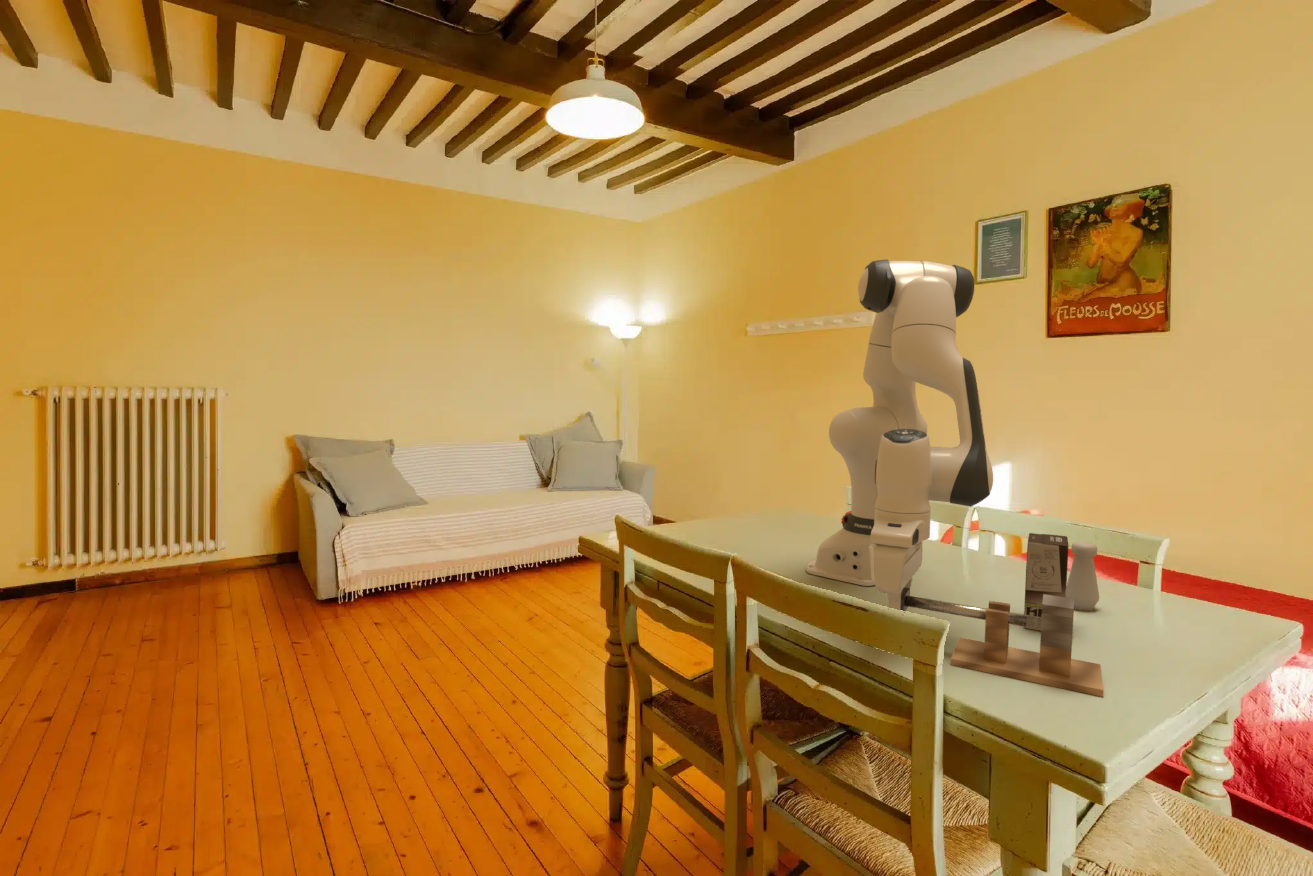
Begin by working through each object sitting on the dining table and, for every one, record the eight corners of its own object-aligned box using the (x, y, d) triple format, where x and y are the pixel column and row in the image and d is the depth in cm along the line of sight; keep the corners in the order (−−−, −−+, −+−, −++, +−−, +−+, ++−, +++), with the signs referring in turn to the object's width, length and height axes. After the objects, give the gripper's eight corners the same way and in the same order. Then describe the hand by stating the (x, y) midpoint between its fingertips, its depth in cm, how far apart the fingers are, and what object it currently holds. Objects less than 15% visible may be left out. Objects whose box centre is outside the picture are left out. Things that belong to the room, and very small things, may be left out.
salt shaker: (1104, 613, 126) (1108, 547, 124) (1071, 611, 127) (1074, 546, 126) (1090, 603, 131) (1094, 540, 130) (1059, 601, 132) (1062, 538, 131)
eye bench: (950, 664, 103) (953, 594, 102) (959, 643, 112) (961, 578, 111) (1103, 696, 93) (1107, 619, 92) (1100, 670, 101) (1104, 599, 100)
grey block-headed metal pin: (888, 611, 110) (889, 593, 110) (895, 602, 114) (895, 586, 114) (1025, 635, 99) (1026, 616, 99) (1027, 625, 104) (1028, 607, 103)
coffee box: (1064, 635, 115) (1069, 546, 113) (1022, 628, 118) (1026, 541, 117) (1064, 619, 123) (1068, 535, 121) (1024, 613, 126) (1028, 531, 125)
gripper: (896, 512, 121) (894, 585, 122) (867, 535, 104) (865, 619, 105) (932, 516, 117) (929, 591, 119) (909, 540, 100) (906, 627, 101)
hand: (899, 604), depth 112 cm, fingers closed on grey block-headed metal pin, 5 cm apart
